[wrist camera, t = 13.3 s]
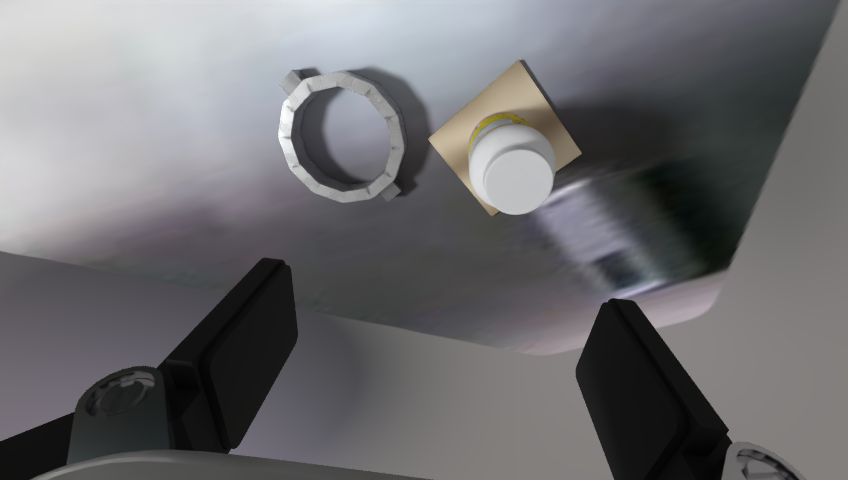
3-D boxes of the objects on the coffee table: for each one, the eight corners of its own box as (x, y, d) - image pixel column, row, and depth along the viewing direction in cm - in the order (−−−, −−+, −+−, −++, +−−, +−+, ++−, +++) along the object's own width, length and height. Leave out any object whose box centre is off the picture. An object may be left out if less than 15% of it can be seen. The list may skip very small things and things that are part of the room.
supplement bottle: (542, 162, 36) (579, 209, 24) (481, 186, 37) (489, 240, 26) (522, 98, 33) (553, 117, 22) (457, 127, 35) (455, 159, 24)
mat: (428, 138, 36) (427, 139, 36) (518, 60, 32) (519, 60, 32) (491, 215, 39) (491, 216, 39) (580, 152, 35) (582, 153, 35)
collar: (256, 119, 37) (243, 122, 35) (333, 29, 32) (324, 26, 30) (359, 223, 41) (353, 232, 39) (439, 156, 37) (437, 162, 35)
